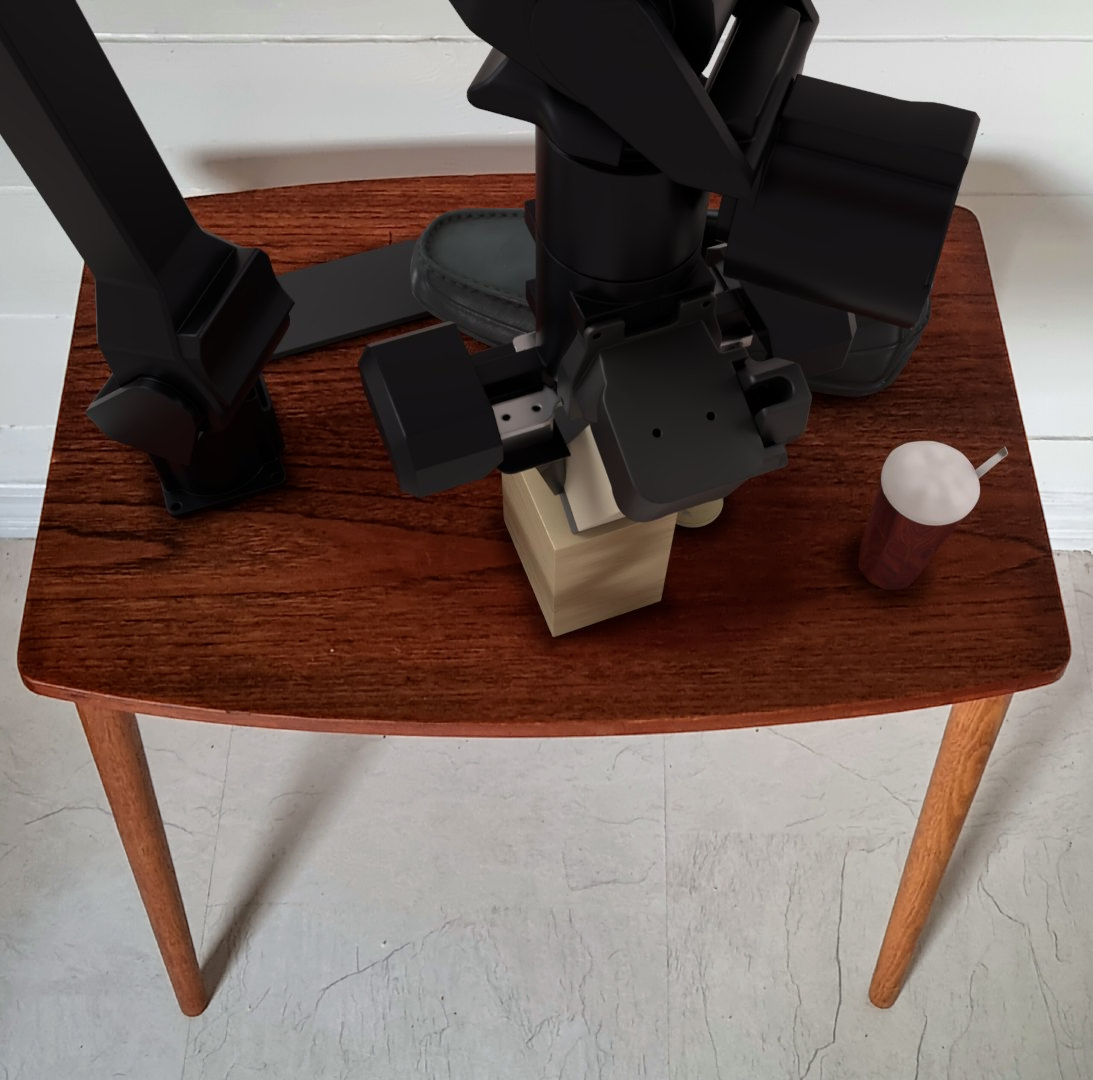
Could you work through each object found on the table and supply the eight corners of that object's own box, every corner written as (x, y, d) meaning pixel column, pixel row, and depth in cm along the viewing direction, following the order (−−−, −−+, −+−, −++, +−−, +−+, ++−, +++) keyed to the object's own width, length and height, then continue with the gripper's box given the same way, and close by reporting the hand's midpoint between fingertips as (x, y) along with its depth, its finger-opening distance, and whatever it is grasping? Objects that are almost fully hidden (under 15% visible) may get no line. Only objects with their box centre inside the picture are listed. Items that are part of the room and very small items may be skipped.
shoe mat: (246, 367, 71) (245, 362, 70) (224, 295, 73) (222, 289, 73) (444, 312, 73) (443, 306, 72) (414, 244, 75) (414, 238, 75)
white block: (572, 534, 55) (622, 511, 45) (526, 397, 55) (566, 344, 45) (654, 508, 55) (720, 479, 46) (609, 373, 56) (666, 315, 46)
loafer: (427, 245, 75) (413, 112, 67) (899, 280, 74) (948, 149, 65) (402, 378, 70) (383, 253, 61) (909, 417, 69) (964, 296, 60)
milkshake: (958, 593, 63) (1024, 491, 55) (858, 607, 63) (909, 506, 54) (931, 519, 66) (990, 410, 57) (834, 532, 65) (880, 424, 57)
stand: (552, 637, 62) (555, 550, 54) (503, 519, 66) (498, 421, 58) (661, 601, 63) (678, 510, 55) (606, 486, 67) (616, 386, 59)
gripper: (429, 490, 36) (459, 697, 49) (985, 318, 39) (870, 556, 52) (327, 226, 41) (379, 479, 54) (826, 95, 44) (758, 363, 58)
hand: (599, 472), depth 55 cm, fingers closed on white block, 4 cm apart
